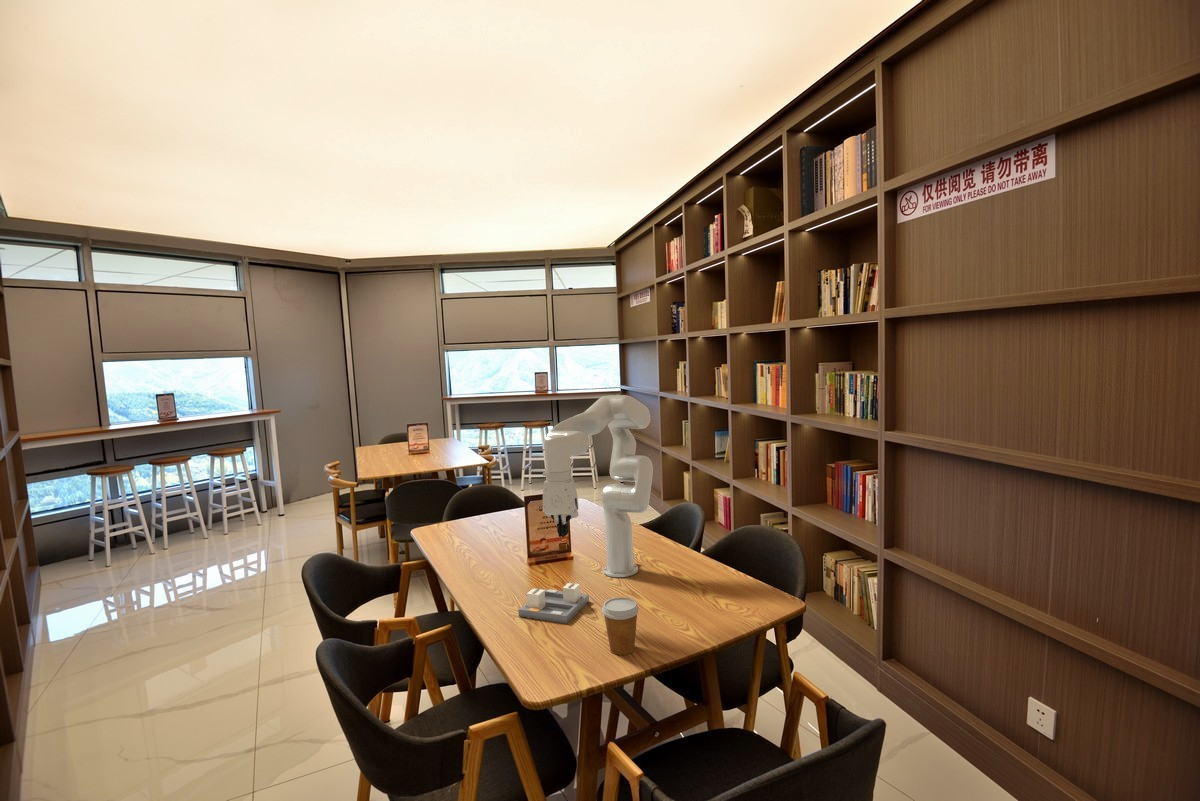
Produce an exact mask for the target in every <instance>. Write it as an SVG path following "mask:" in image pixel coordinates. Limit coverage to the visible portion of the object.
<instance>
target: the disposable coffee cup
mask: <svg viewBox="0 0 1200 801" xmlns="http://www.w3.org/2000/svg"><path fill="white" fill-rule="evenodd" d="M603 602H604V603H603V606H602V608H601V612H602V614H603V617H604V621H605V628H606V634H607V640H608V646H609V651H610V652H611V653H612V654H613V655H617V656H627V655H631V654H632V653H633V652H634V651H635V648H636V647H635V646H636V635H637V634H636V633H637V620H638V612H639V610H640V608H639V606H638V603H637V601H636V600H635V599H633V598H631V597H622V596H621V597H620V596H619V597H618V596H617V597H611V598H609V599H607V600H605V601H603Z"/></svg>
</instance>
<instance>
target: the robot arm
mask: <svg viewBox="0 0 1200 801" xmlns="http://www.w3.org/2000/svg"><path fill="white" fill-rule="evenodd" d="M650 423H651V413H650V410H649V408H648V407H647V406H646V405H645V404H644V403H642V402H640V401H639V400H637V399H636V398H634V397H633V396H631V395H626V394H620V395H617V394H615V395H613V394H611V395H602V396H601V397H600V398H598V399H597V400H596V401H595V402H593V403H592V405H590V406H589V407H588V408H587V409H586V410H584V412H582V413H579V414H576V415H574V416H571V417H569V418H566V419H565V420H563V421H560V422H558V423H557V424H556V425H554V426H553V428H552V429H551V430H549V432H548V433H547V434H546V437H544V440H543V448H544V460H545V461H544V462H545V471H543V472H542V476H543V477H544V478H545V479H546V480H544V482H543V488H542V511H543V513H544V514H545V516H546V517H549V518H551V519H552V520H553V521H554V522H555V524H556V529H557V530H556V531H557V534H558V538H565V537H566V536H568V534H569V522H570V520H571V519H576V518H578V517H579V498H578V493H577V487H576V483H575V480H574V479H572V478H573V476H572V467H571V466H572V465H571V464H572V463H571V458H572V457H574V456H577V457H578V456H581V455H583V454H585V453H587V451H588V450H589V448H590V446H591V440H590V438H589V437H591V436H593V435H597V434H599V433H601V432H602V431H603V430H604V429H605V428H606V427H607V428H608V429H609V432H610V434H611V436H612V449H611V450H612V451H611V457H610V464H609V475H610V478H611V479H612V480H615V481H619V482H629V483H632V482H633V483H634V484H624V483H623V484H622V483H612V484H607V485H606V486H604V487H603V489H602V490H601V493H600V500H601V506H602V510H603V516H604V527H605V530H604V531H605V532H604V533H605V547H606V548H605V552H606V565H605V566H604V567H603V568H602V571H603V574H604V575H606V576H608V577H611V578H627V577H628V578H629V577H631V576H634V575H636V574H637V573H638V571H639V567H638V565H637V564H635V563H634V558H635V553H634V547H633V546H634V545H633V530H632V529H633V525H632V520H631V517H630V516H629V514H628V513H632V514H642V513H644V512H646V511H647V510H648V508H649V505H650V500H651V499H650V498H651V493H652V492H651V490H652V486H653V485H652V483H653V477H654V467H653V462H652V460H651V459H650V458H649V457H648V456H646V455H639V454H637V455H636V449H637V441H636V438H635V436H634V435H633V433H632V432H631V431H630V430H643V429H646V428H647V427H648V426H649V425H650Z"/></svg>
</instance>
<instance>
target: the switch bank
mask: <svg viewBox="0 0 1200 801" xmlns="http://www.w3.org/2000/svg"><path fill="white" fill-rule="evenodd" d="M543 590H545V604H546V606H545V607H544V608H542V609H538V608H528V607H527V602H526V603H525V604H523V605H522V606H521V607H520V608H518V610H517V611H518V617H519V616H522V617H521V618H524V617H529V618H528V619H531V618H534V620H538V619H540V621H545V620H547V622H554V623H561V624H568V623H569V622H570V621H571V620H572V619H573V618H574V617H575V616H577V615H578V613H579V612H580V611H581V610H582V609H583V608H584V607H585V606H587V604H588V603H589V602H590V597H589V596H590V595H589V594H586V593H580V596H581V599H580V600H579V601H578V602H577V603H571V602H563V590H557V589H545V588H544V589H543ZM587 602H588V603H587ZM586 603H587V604H586ZM583 606H584V607H583ZM582 607H583V608H582ZM581 608H582V609H581ZM580 609H581V610H580ZM579 610H580V611H579Z"/></svg>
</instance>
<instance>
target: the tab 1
mask: <svg viewBox="0 0 1200 801" xmlns="http://www.w3.org/2000/svg"><path fill="white" fill-rule="evenodd" d="M526 603H527V607H528V608H538V609H542V608H544V607H545V606H546V604H545V590H544V589H541V588H532V589H530V590H529V591H528V592H527V593H526Z"/></svg>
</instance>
